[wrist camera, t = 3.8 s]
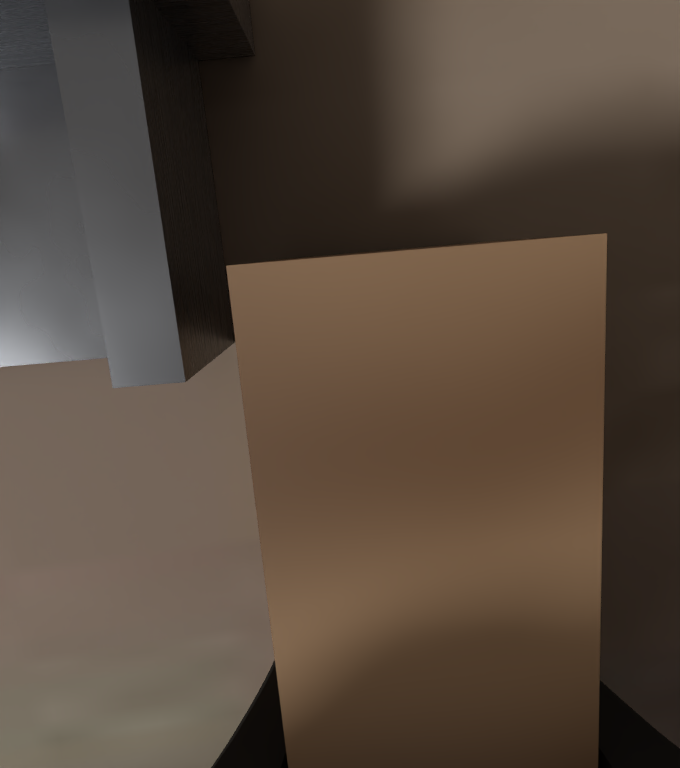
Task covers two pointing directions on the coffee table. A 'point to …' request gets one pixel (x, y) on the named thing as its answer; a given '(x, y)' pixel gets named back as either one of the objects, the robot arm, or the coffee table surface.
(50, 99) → the bracket
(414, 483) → the brown long rectangular block
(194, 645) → the coffee table surface
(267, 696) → the robot arm
